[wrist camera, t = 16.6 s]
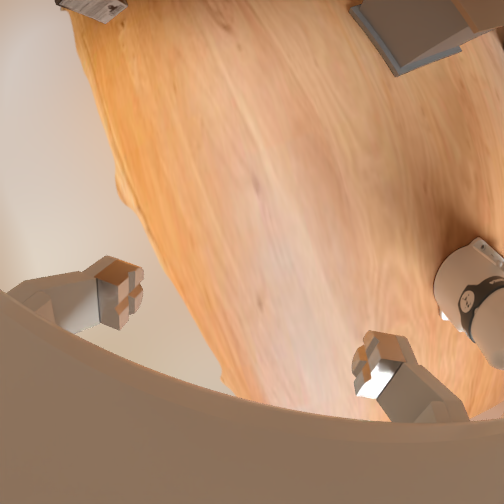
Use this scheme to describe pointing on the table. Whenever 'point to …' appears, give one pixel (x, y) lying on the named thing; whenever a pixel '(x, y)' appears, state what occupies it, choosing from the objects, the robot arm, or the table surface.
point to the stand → (424, 28)
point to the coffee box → (95, 8)
